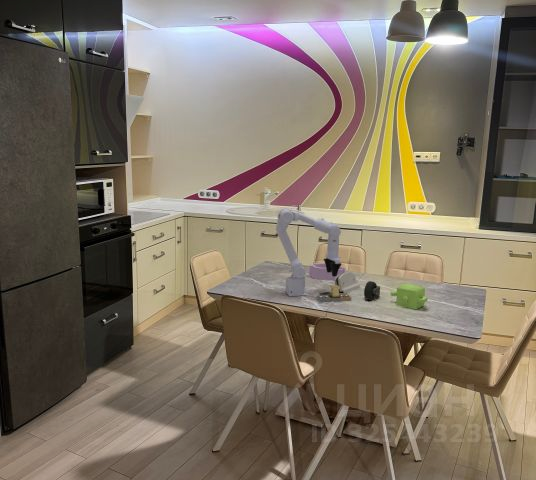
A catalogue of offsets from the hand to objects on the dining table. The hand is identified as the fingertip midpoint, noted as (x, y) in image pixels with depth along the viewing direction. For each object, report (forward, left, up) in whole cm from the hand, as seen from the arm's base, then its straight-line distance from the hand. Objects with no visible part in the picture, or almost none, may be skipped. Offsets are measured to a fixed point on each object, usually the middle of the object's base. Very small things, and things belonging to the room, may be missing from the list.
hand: (331, 274), depth 253 cm
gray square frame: (-4, -3, -10) cm, 12 cm away
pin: (-2, -9, -10) cm, 14 cm away
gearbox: (+30, -24, -11) cm, 40 cm away
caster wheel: (+19, -10, -11) cm, 24 cm away
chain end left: (-5, -10, -10) cm, 15 cm away
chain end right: (+1, -9, -10) cm, 14 cm away
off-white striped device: (+11, +7, -11) cm, 17 cm away
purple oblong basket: (+9, +30, -11) cm, 33 cm away
